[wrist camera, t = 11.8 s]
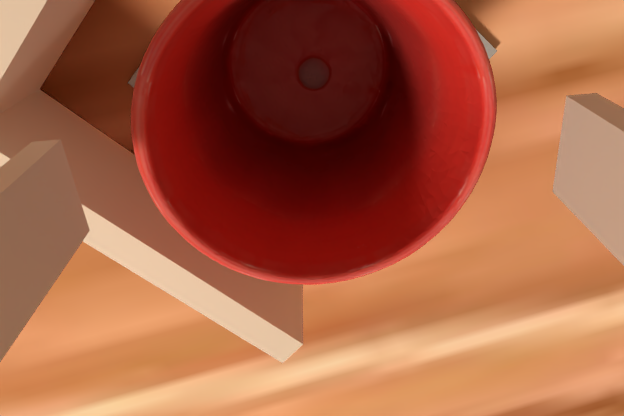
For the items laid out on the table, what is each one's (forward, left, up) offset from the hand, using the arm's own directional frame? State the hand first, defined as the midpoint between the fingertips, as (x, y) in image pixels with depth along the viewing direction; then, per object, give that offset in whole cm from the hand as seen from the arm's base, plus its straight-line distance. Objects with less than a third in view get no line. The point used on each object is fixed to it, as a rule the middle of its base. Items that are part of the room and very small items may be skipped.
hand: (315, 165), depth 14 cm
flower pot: (0, 0, -12) cm, 12 cm away
